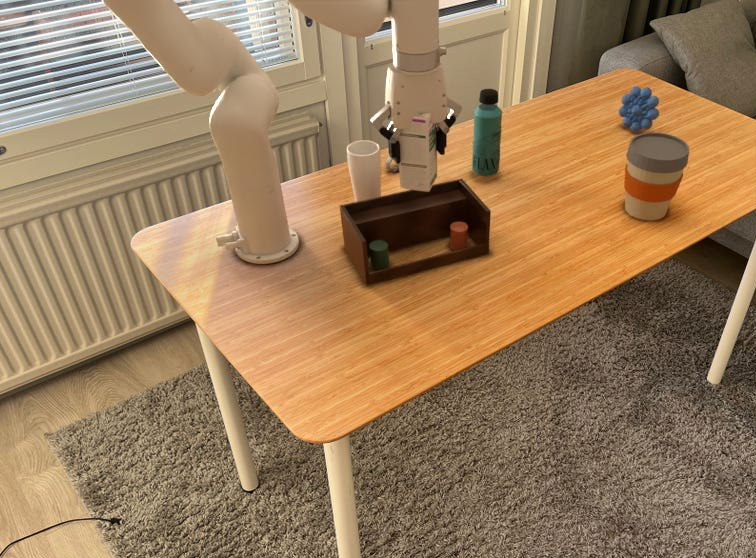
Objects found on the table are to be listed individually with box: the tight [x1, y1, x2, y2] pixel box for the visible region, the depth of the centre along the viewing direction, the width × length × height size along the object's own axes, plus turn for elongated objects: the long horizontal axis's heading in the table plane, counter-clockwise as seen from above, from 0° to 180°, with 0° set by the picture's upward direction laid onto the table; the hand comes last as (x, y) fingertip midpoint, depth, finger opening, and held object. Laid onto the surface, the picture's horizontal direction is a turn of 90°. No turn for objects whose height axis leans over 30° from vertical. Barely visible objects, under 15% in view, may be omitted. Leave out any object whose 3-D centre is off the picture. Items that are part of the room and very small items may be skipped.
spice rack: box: [339, 178, 492, 286], centre depth 139 cm, size 26×13×10 cm, turn 115°
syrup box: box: [397, 113, 438, 192], centre depth 127 cm, size 6×6×14 cm
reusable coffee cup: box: [623, 131, 690, 221], centre depth 150 cm, size 13×13×15 cm
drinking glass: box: [346, 139, 382, 202], centre depth 148 cm, size 7×7×15 cm
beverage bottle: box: [471, 88, 503, 177], centre depth 158 cm, size 6×7×20 cm
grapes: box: [618, 86, 660, 133], centre depth 178 cm, size 12×7×12 cm, turn 42°
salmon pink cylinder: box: [449, 222, 469, 251], centre depth 143 cm, size 4×4×5 cm
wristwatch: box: [384, 155, 399, 173], centre depth 165 cm, size 4×6×5 cm, turn 140°
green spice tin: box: [369, 240, 390, 272], centre depth 137 cm, size 4×4×5 cm
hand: (417, 155), depth 128 cm, fingers closed on syrup box, 8 cm apart
